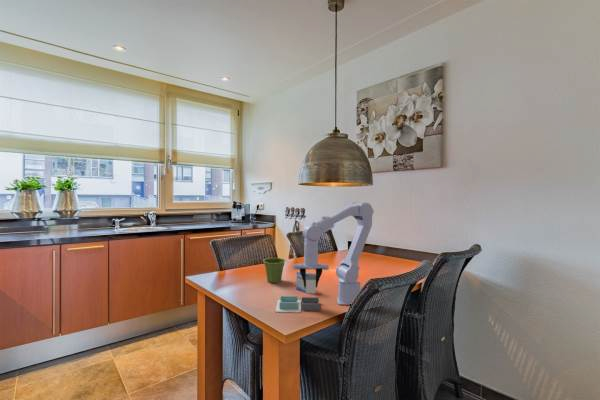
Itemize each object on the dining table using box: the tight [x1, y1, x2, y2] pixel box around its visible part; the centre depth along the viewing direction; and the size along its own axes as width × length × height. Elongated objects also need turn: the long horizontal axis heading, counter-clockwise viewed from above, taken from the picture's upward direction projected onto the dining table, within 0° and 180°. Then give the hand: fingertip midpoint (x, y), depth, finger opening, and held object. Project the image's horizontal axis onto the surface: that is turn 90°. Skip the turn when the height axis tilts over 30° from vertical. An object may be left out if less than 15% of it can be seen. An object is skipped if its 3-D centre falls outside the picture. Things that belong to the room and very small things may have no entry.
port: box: [275, 295, 302, 314], centre depth 125 cm, size 10×13×3 cm
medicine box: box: [295, 270, 313, 293], centre depth 146 cm, size 8×4×9 cm, turn 45°
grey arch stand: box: [301, 296, 321, 311], centre depth 125 cm, size 7×8×2 cm
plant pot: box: [262, 257, 286, 284], centre depth 160 cm, size 12×12×11 cm
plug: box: [305, 273, 317, 294], centre depth 125 cm, size 4×4×7 cm
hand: (310, 286), depth 125 cm, fingers closed on plug, 4 cm apart
